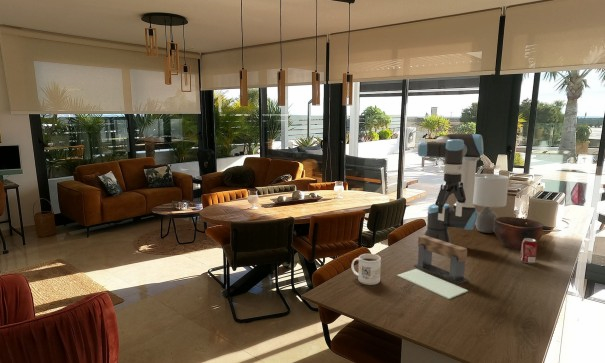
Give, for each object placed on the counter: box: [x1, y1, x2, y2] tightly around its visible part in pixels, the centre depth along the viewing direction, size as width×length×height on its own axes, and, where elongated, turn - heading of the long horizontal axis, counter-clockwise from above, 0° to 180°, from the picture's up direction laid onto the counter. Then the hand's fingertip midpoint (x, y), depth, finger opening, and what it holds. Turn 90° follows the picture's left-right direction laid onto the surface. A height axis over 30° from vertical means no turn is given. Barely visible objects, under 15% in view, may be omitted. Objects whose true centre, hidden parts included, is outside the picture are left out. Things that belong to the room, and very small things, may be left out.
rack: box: [413, 244, 469, 285], centre depth 181 cm, size 25×7×12 cm, turn 34°
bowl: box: [493, 216, 545, 251], centre depth 218 cm, size 25×25×15 cm
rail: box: [417, 234, 468, 262], centre depth 180 cm, size 24×4×6 cm, turn 34°
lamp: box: [473, 173, 510, 234], centre depth 245 cm, size 21×21×37 cm
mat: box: [396, 268, 469, 300], centre depth 171 cm, size 28×13×1 cm, turn 34°
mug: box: [350, 253, 382, 286], centre depth 174 cm, size 10×12×11 cm
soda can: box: [519, 238, 538, 265], centre depth 195 cm, size 7×7×12 cm
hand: (449, 218), depth 178 cm, fingers open, 13 cm apart
